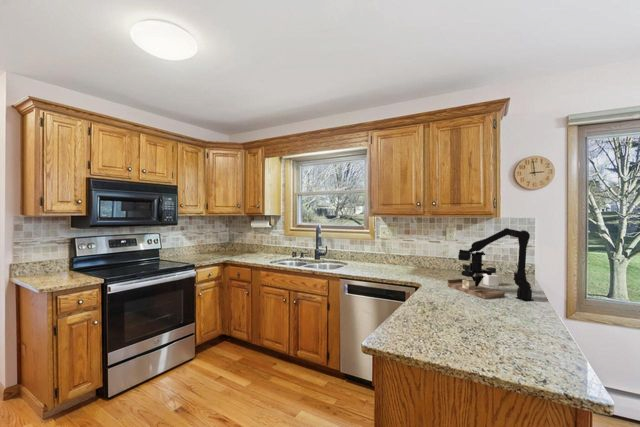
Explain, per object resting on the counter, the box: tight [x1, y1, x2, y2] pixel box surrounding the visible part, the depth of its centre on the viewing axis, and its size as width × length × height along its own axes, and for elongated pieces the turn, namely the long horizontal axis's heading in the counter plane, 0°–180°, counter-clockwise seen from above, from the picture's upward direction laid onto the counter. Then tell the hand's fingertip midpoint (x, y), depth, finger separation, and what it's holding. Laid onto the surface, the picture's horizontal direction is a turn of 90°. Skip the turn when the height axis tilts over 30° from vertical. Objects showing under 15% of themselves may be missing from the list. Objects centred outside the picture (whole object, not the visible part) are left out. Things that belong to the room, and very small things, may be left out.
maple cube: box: [462, 278, 475, 290], centre depth 186 cm, size 5×5×5 cm
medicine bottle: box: [482, 266, 500, 287], centre depth 206 cm, size 7×7×12 cm
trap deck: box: [447, 278, 506, 300], centre depth 188 cm, size 30×15×4 cm, turn 18°
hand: (476, 286), depth 186 cm, fingers closed
